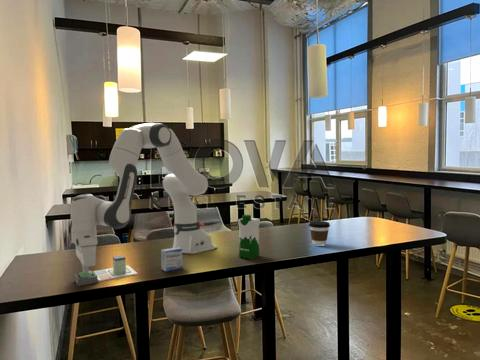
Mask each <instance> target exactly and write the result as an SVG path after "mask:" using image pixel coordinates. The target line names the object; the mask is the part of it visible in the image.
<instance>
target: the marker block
mask: <svg viewBox="0 0 480 360" xmlns="http://www.w3.org/2000/svg"><path fill="white" fill-rule="evenodd" d="M112 266H113V267H112V268H113V271H114V272H115V273H121V272H126V266H127V265H126V256H125V255H123V254H121V255H115V256H113V257H112Z"/></svg>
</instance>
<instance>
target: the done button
mask: <svg viewBox="0 0 480 360" xmlns="http://www.w3.org/2000/svg"><path fill="white" fill-rule="evenodd" d="M92 271H93V270H89V273H86V274H84V272H83V271H80V272H79V274H80V278H85V277H91V276H92Z"/></svg>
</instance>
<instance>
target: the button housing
mask: <svg viewBox="0 0 480 360" xmlns="http://www.w3.org/2000/svg"><path fill="white" fill-rule="evenodd" d="M91 271H92V276H91V277H85V278H80V273H76V274H74V282H75V283H76V285H77V286H78V287H80V286H86V285H90V284H91V285H92V284H96V283H98V282H99V281H98V277H97V275H96V273H95V272H94V271H95V270H91Z"/></svg>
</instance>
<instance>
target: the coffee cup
mask: <svg viewBox="0 0 480 360" xmlns="http://www.w3.org/2000/svg"><path fill="white" fill-rule="evenodd" d="M330 226H331V224H330V222H328V221H325V220H313V221H310V222H309V223H308V227H309V228H310V230H309V232H310V236H311V240H312V241H311V242H312V245H313V244H317V245H322V244H326V243H327V240H328V235H329V228H330Z"/></svg>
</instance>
